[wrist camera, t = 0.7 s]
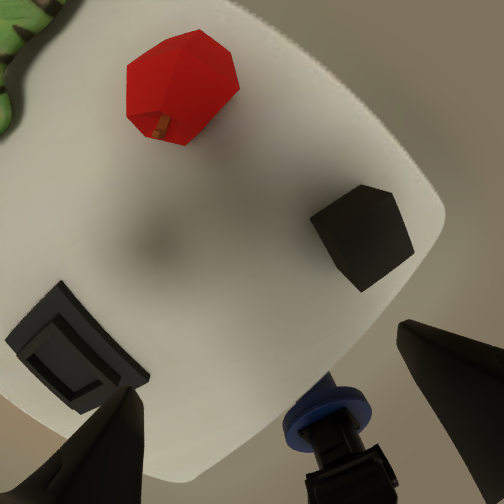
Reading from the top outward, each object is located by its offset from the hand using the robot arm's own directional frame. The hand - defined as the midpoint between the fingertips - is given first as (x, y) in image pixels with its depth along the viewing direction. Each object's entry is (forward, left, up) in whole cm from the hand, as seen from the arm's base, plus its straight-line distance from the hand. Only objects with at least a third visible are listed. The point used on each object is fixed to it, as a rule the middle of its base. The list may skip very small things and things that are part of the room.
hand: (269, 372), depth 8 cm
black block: (-4, -8, -14) cm, 16 cm away
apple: (+11, -3, -14) cm, 18 cm away
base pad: (0, +20, -14) cm, 24 cm away
